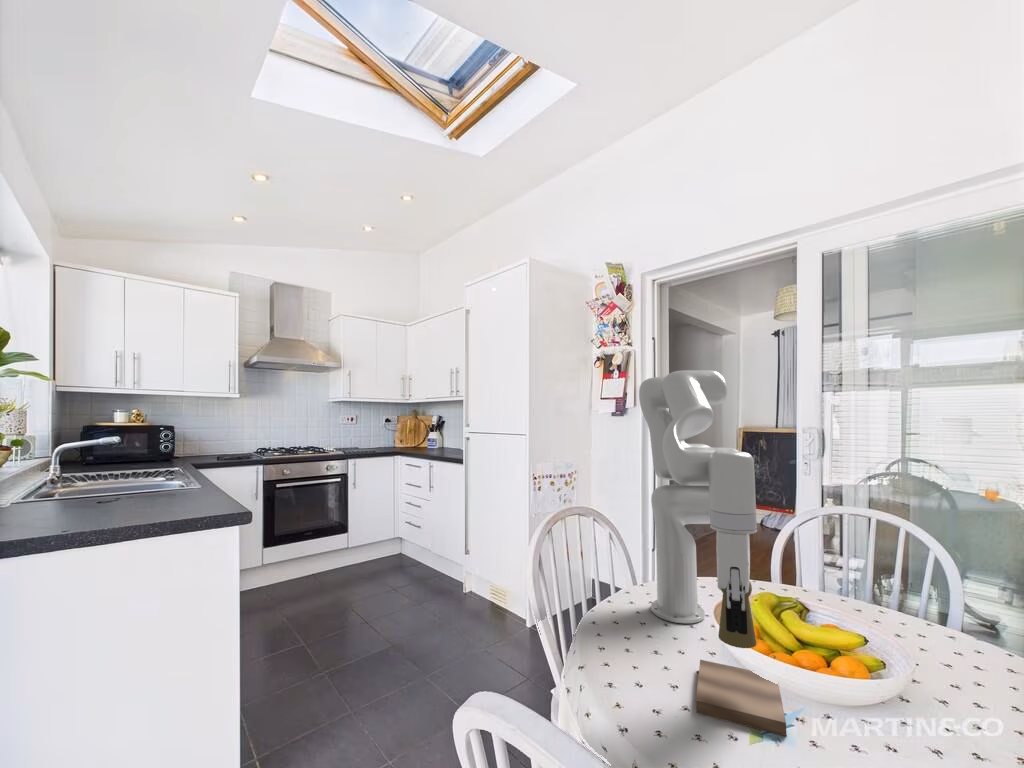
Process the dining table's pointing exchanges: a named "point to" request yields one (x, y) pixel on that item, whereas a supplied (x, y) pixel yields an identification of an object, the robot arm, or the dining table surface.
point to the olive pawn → (736, 638)
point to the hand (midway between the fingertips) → (736, 625)
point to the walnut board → (739, 697)
